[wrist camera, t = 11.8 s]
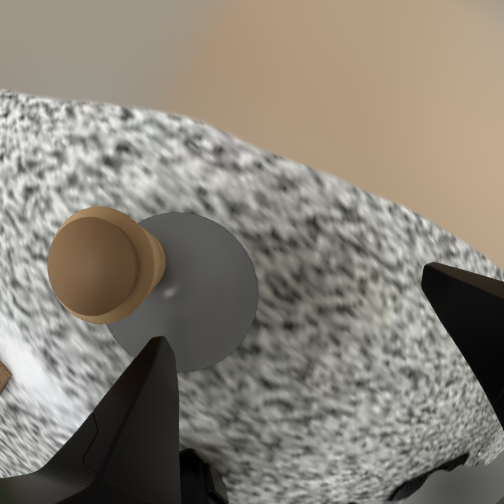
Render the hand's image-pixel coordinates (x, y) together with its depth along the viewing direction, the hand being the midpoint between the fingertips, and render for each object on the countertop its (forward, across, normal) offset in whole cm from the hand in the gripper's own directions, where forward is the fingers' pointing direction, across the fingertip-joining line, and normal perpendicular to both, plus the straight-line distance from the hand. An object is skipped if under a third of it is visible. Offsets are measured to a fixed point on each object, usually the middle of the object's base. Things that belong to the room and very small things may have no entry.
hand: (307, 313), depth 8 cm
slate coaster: (+11, +7, +5) cm, 14 cm away
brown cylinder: (+11, +9, +2) cm, 14 cm away
